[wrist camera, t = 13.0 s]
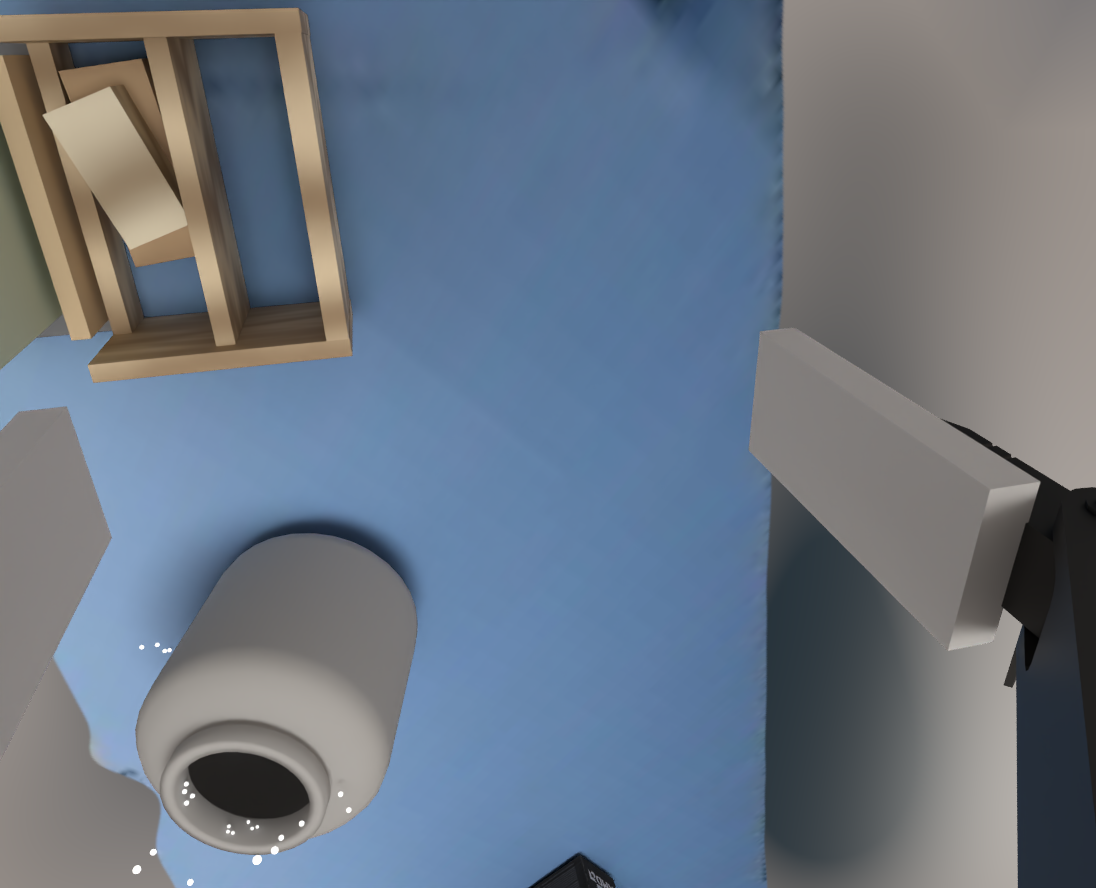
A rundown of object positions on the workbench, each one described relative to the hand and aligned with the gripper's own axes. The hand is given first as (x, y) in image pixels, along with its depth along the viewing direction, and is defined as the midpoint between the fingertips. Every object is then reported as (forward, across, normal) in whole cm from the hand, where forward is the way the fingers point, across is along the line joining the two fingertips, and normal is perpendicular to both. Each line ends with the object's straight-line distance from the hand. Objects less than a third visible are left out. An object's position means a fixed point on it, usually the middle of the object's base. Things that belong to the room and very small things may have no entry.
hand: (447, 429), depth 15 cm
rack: (+37, -10, 0) cm, 38 cm away
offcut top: (+34, -13, +2) cm, 36 cm away
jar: (+37, -11, -30) cm, 49 cm away
